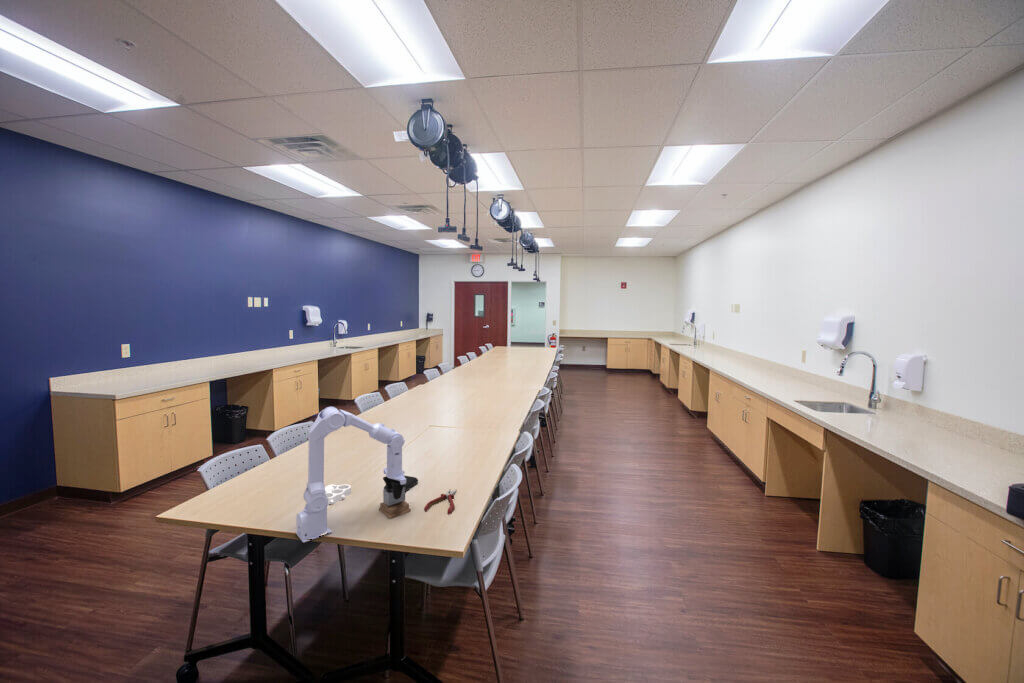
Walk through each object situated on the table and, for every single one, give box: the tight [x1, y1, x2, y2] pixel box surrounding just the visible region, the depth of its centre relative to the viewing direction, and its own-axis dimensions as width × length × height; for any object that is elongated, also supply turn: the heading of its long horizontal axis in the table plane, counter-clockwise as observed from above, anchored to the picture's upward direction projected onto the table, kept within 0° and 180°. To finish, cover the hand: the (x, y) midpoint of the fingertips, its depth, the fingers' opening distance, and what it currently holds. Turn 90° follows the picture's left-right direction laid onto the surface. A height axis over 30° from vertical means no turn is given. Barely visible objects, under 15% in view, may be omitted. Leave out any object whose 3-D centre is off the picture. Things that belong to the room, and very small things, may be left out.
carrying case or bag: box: [383, 474, 419, 492], centre depth 183 cm, size 11×3×15 cm
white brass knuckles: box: [325, 483, 352, 506], centre depth 170 cm, size 3×18×15 cm
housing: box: [382, 487, 406, 506], centre depth 160 cm, size 4×7×5 cm, turn 134°
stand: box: [378, 500, 412, 520], centre depth 161 cm, size 9×9×3 cm
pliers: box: [423, 488, 457, 515], centre depth 170 cm, size 12×20×3 cm, turn 169°
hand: (394, 496), depth 160 cm, fingers closed on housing, 4 cm apart
